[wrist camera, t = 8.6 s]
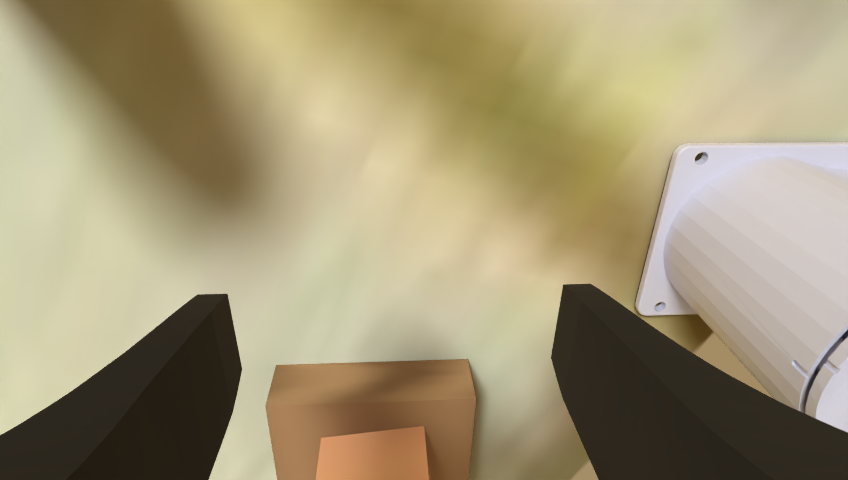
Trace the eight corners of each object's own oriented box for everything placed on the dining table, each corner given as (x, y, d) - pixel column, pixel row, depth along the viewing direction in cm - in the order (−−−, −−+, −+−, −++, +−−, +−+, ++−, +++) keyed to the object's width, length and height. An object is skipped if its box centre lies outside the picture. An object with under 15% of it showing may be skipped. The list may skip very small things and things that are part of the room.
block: (466, 353, 25) (476, 398, 23) (456, 476, 29) (463, 527, 27) (278, 358, 25) (265, 406, 22) (295, 484, 29) (286, 537, 26)
